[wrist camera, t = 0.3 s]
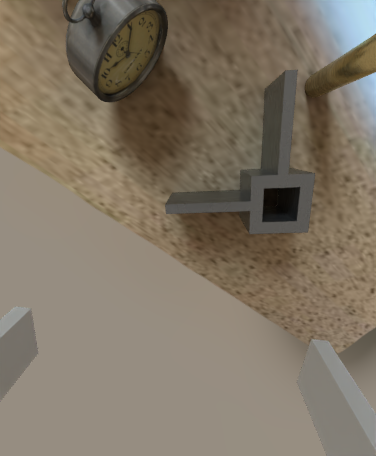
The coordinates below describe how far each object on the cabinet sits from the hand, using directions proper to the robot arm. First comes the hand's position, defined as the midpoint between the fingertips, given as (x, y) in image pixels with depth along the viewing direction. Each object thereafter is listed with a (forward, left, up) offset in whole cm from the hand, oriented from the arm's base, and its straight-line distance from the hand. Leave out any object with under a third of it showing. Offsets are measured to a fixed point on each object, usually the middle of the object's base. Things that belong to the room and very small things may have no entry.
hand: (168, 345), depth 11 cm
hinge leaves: (-7, +6, -27) cm, 29 cm away
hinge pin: (-16, +17, -28) cm, 36 cm away
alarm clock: (-20, -7, -28) cm, 35 cm away
